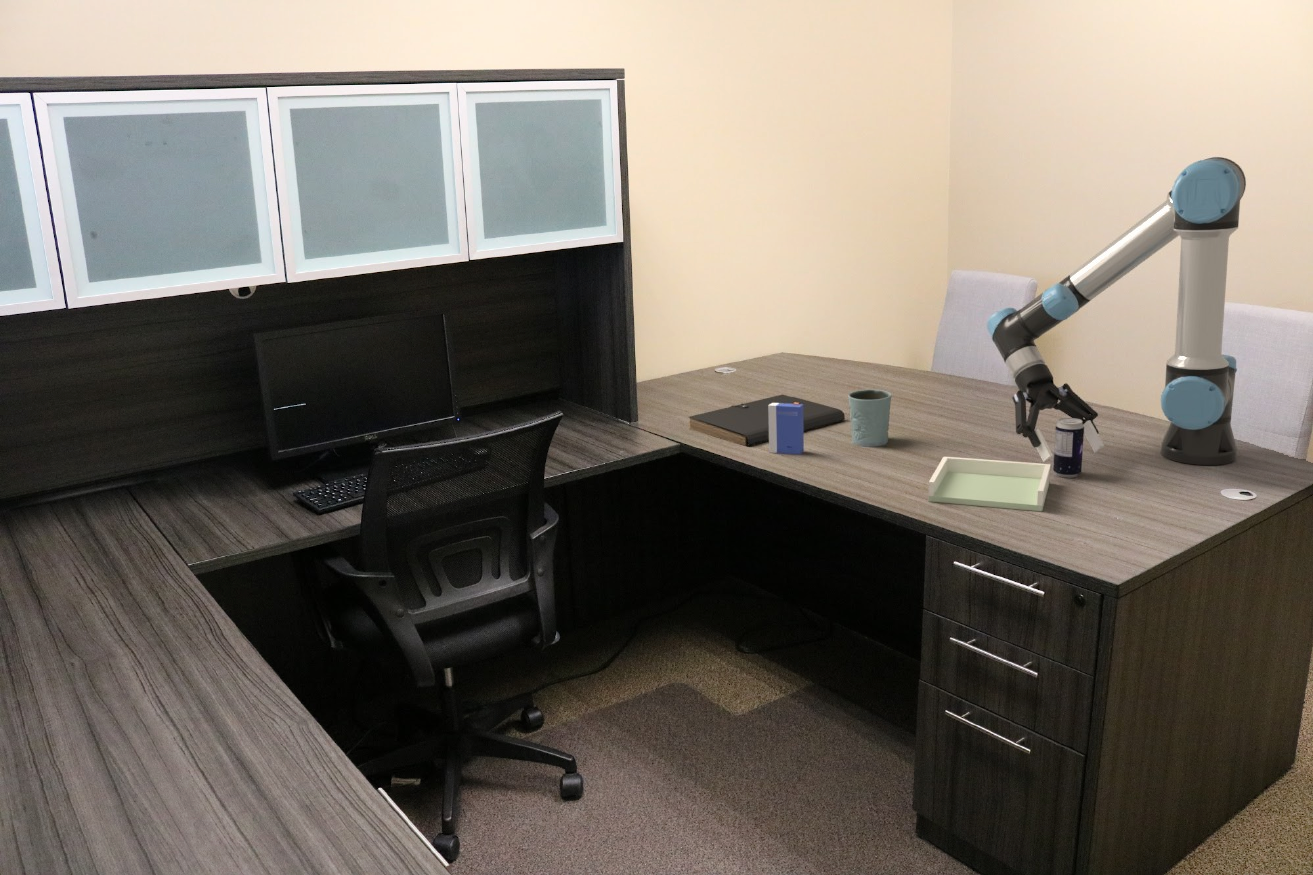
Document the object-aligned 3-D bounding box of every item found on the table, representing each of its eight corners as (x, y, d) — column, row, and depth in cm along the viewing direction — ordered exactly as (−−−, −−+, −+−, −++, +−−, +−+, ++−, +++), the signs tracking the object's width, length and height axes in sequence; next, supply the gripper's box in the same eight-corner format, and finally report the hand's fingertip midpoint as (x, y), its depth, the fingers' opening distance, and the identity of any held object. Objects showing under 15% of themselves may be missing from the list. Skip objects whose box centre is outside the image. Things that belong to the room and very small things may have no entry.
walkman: (803, 451, 260) (803, 402, 256) (800, 454, 257) (799, 405, 254) (772, 449, 263) (771, 401, 260) (768, 452, 260) (767, 403, 257)
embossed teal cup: (892, 437, 268) (892, 389, 265) (889, 448, 259) (889, 399, 255) (850, 435, 271) (850, 388, 267) (846, 447, 261) (846, 398, 258)
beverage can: (1083, 478, 231) (1086, 424, 228) (1055, 478, 232) (1058, 424, 229) (1078, 470, 236) (1082, 417, 233) (1051, 470, 237) (1054, 417, 234)
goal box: (1049, 483, 229) (1050, 464, 228) (1042, 511, 213) (1043, 491, 212) (943, 474, 238) (943, 456, 237) (928, 501, 222) (928, 481, 221)
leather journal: (781, 392, 302) (844, 409, 283) (782, 407, 303) (844, 424, 284) (687, 415, 283) (748, 434, 265) (688, 430, 285) (748, 450, 266)
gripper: (1066, 374, 248) (1110, 454, 238) (975, 388, 239) (1017, 471, 230) (1084, 355, 241) (1130, 436, 232) (991, 369, 233) (1035, 453, 224)
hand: (1074, 454), depth 231 cm, fingers open, 13 cm apart
